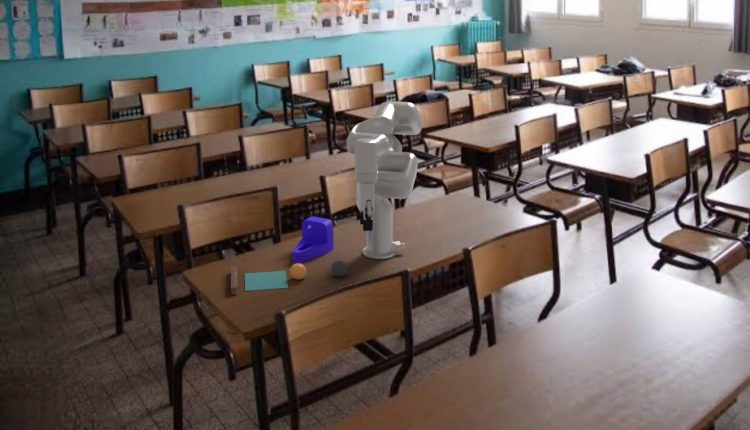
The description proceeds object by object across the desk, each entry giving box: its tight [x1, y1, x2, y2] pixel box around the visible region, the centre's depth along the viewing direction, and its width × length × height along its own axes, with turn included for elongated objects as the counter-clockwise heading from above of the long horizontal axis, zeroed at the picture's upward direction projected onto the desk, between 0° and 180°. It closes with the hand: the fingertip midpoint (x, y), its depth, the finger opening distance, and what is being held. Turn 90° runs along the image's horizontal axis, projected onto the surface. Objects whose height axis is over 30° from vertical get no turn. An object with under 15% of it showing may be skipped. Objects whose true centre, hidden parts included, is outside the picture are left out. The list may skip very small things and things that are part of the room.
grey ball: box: [330, 260, 348, 278], centre depth 249 cm, size 6×6×6 cm
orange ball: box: [289, 263, 307, 280], centre depth 246 cm, size 6×6×6 cm
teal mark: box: [244, 270, 289, 292], centre depth 245 cm, size 14×14×1 cm
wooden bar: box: [230, 265, 239, 296], centre depth 243 cm, size 2×18×2 cm, turn 10°
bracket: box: [292, 215, 335, 264], centre depth 266 cm, size 18×11×12 cm, turn 153°
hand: (366, 226), depth 245 cm, fingers open, 5 cm apart
